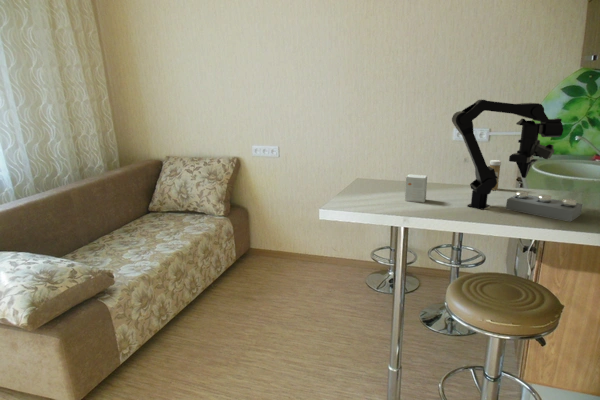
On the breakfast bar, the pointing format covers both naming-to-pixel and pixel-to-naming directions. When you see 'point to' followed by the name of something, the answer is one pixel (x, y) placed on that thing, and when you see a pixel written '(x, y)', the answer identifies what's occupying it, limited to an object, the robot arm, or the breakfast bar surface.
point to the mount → (544, 208)
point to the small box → (416, 188)
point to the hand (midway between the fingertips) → (524, 177)
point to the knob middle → (544, 198)
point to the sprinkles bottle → (496, 170)
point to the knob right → (568, 203)
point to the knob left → (521, 195)
